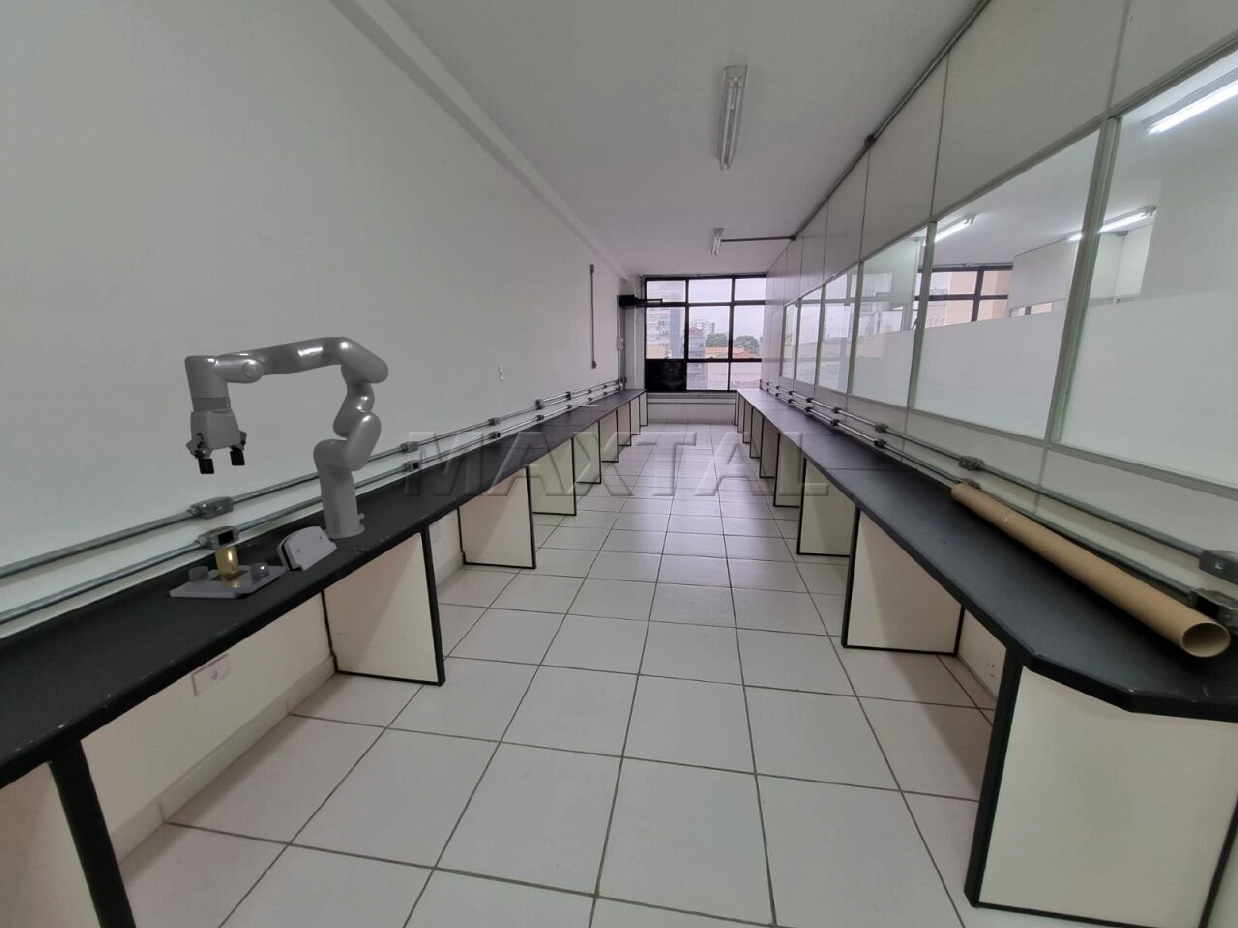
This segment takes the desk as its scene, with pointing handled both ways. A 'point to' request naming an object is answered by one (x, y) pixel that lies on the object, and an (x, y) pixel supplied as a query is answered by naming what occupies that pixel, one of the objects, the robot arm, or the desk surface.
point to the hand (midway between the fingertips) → (223, 469)
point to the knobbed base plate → (212, 587)
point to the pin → (227, 563)
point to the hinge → (304, 548)
